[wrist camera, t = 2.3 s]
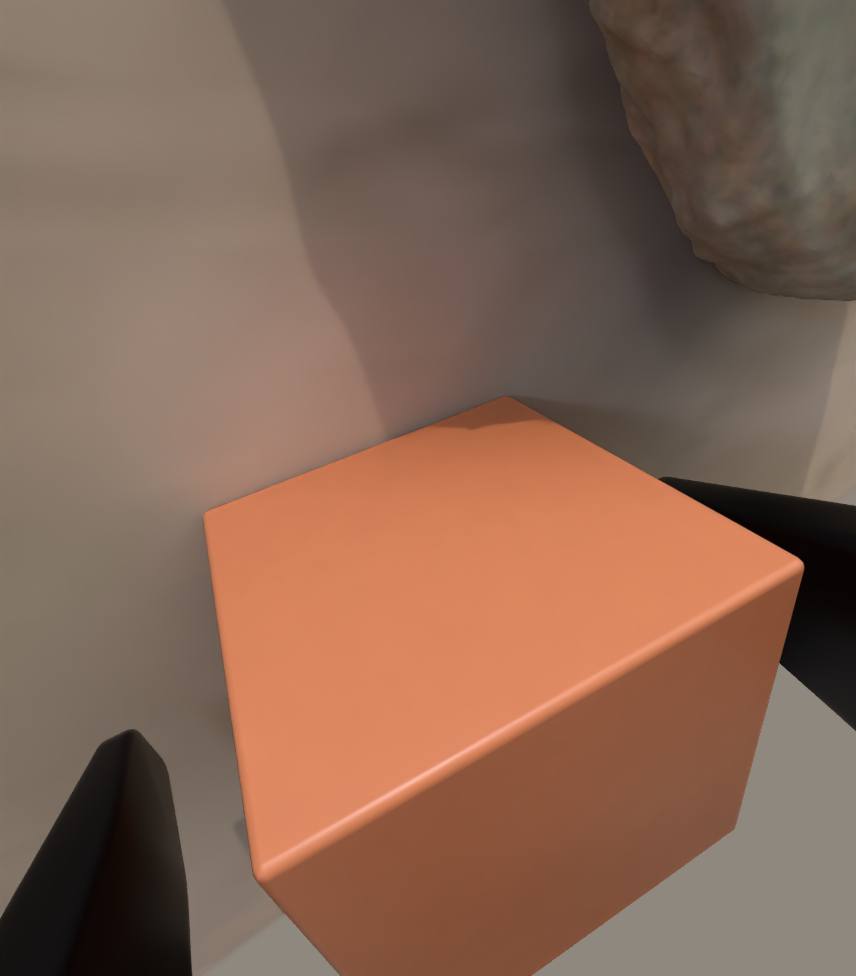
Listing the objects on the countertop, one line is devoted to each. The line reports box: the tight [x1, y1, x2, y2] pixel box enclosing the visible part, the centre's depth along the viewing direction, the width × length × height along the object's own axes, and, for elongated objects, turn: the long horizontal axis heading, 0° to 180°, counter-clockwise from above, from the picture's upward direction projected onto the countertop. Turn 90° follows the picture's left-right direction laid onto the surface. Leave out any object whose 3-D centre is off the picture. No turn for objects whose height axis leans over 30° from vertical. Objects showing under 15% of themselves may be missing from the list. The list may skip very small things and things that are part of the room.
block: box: [203, 396, 804, 976], centre depth 7 cm, size 5×5×5 cm
